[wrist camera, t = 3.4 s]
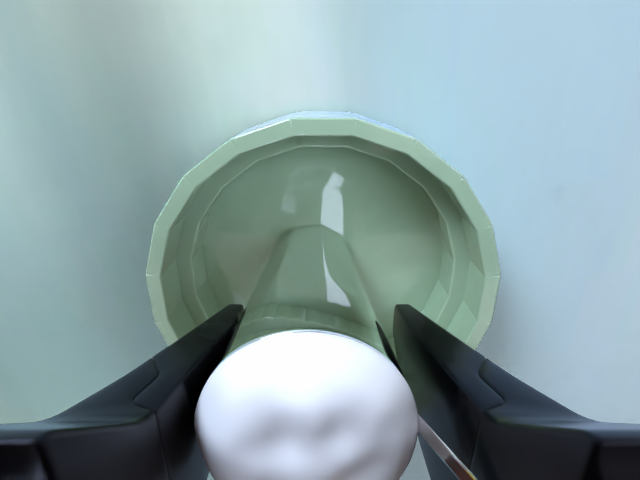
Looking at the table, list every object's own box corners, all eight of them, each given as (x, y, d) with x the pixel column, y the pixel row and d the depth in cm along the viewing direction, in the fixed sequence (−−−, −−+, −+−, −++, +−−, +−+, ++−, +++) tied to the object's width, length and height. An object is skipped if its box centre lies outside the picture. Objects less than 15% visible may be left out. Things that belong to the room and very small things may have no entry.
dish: (445, 371, 18) (471, 429, 15) (198, 371, 18) (173, 428, 15) (486, 110, 13) (532, 118, 10) (160, 110, 13) (114, 117, 10)
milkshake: (392, 304, 16) (493, 601, 7) (265, 316, 16) (195, 623, 7) (386, 199, 14) (512, 405, 5) (245, 214, 15) (119, 440, 5)
